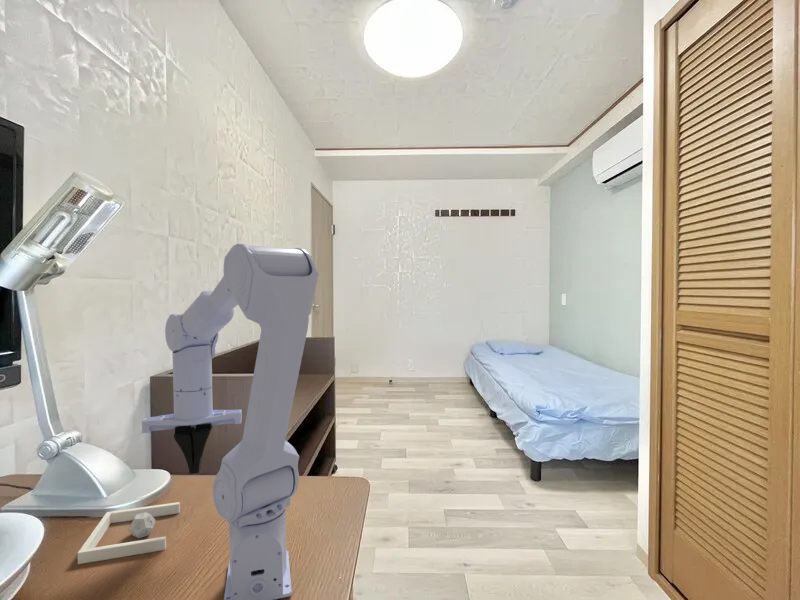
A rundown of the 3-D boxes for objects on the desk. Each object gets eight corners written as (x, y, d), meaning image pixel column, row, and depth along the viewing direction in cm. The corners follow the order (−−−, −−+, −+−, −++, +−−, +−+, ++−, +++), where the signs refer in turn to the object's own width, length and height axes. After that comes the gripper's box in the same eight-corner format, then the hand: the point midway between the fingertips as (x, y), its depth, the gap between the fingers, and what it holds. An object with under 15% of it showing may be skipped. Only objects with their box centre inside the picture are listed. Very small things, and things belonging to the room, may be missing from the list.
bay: (165, 549, 64) (164, 539, 64) (77, 564, 61) (77, 553, 61) (180, 511, 76) (179, 501, 76) (107, 521, 72) (106, 512, 72)
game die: (159, 527, 71) (158, 509, 71) (149, 540, 67) (149, 521, 67) (135, 529, 70) (135, 510, 70) (124, 542, 67) (124, 522, 67)
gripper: (242, 379, 76) (243, 456, 77) (149, 386, 72) (151, 467, 72) (239, 388, 70) (241, 472, 70) (137, 396, 65) (139, 485, 66)
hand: (195, 471), depth 71 cm, fingers closed
